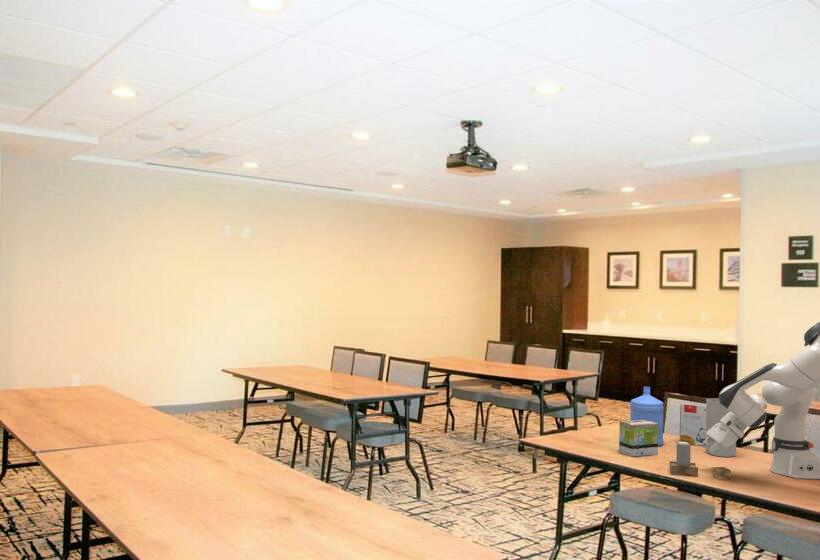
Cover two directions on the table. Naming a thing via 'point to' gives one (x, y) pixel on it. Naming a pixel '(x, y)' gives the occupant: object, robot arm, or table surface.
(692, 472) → the stand
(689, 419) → the hard drive box
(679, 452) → the block
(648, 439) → the tea box
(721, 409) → the cylinder vase
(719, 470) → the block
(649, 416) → the water jug
